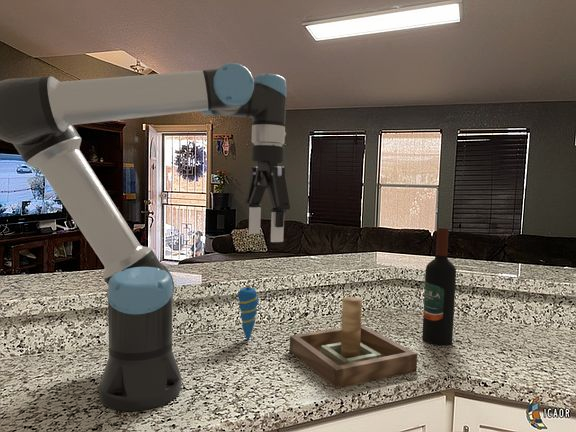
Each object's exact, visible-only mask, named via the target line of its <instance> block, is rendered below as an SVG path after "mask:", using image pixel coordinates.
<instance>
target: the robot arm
mask: <svg viewBox="0 0 576 432" xmlns="http://www.w3.org/2000/svg"><path fill="white" fill-rule="evenodd" d="M287 99H288V96H287V80H286V79H285V77H283V76H281V75H279V74H274V73H260V74H256V75H254V77H253V75H252V73H251V71H250V70H249V69H248V68H247V67H246V66H244V65H242V64H240V63H237V62H230V63H226V64H224V65H222V66H221V67H219V68H212V69H210V68H209V69H204V70H202V69H201V70H188V71H187V70H186V71H175V72H163V73H152V74H141V75H140V74H138V75H127V76H126V75H125V76H117V77H116V76H115V77H104V78H92V79H91V78H90V79H79V80H68V81H65V80H64V81H60V80H58V79H57V78H56V77H54V76H40V77H20V78H19V77H17V78H8V79H2V80H0V140H2V141H4V142H6V143H10V144H12V145H13V146H14V148H15V149H16V150H17V152H18V154H19V155H20V156H21V158H22V159H23V161H24V162H25V164H26V165H27V166H29V167H33V168H35V169H38V170H40V172H41V173H42V175H43V176H44V178H45V179H46V181H47V182H48V184H49V185H50V187H51V189H53V191H54V192H55V194H56V196H57V197H58V199H59V200H60V201H61V204H63V206H64V208H65V210H66V211H67V212H68V215H70V217H71V219H72V220H73V221H74V223H75V224H76V226H77V227H78V228H79V231H80V232H81V233H82V235H83V236H84V238H85V239H86V241H87V242H88V244H89V245H90V247H91V248H92V249H93V251H94V253H95V254H96V256H97V257H98V259H99V260H100V262H101V264H102V265H103V266H104V270H103V273H102V278H103V280H104V282H105V283H106V284H107V286H108V288H107V291H106V298H107V308H108V309H107V311H108V313H107V314H108V315H107V317H108V318H107V319H108V321H107V322H108V327H107V328H108V358H107V362H106V364H105V366H104V367H105V368H104V371H103V374H102V377H101V380H100V381H99V382H100V383H99V387H98V389H99V393H98V394H99V395H98V398H99V401H100V403H101V404H102V405H103V406H105V407H106V408H108V409H111V410H116V411H122V412H138V411H144V410H145V411H146V410H150V409H154V408H157V407H160V406H164V405H165V404H167V403H170V402H171V401H172V400H174V399H175V398H177V396H179V394H180V393H181V390H182V375H181V372H180V369H179V366H178V363H177V360H176V357H175V355H174V352H173V300H174V292H175V283H174V282H175V281H174V278H173V275H172V273H171V272H170V270H169V268H167V267H166V266H165V265H164V264H162V262H161V261H160V260H159V259H158V257H157V255H156V254H155V252H154V250H153V249H152V247H148V246H143V245H141V243H140V242H139V240H138V239H137V237H136V236H135V234H134V232H133V231H132V229H131V228H130V226H129V225H128V223H127V221H126V220H125V218H124V217H123V215H122V214H121V212H120V211H119V208H118V207H117V206H116V204H115V203H114V201H113V200H112V198H111V196H110V194H109V193H108V192H107V190H106V189H105V187H104V185H103V184H102V183H101V181H100V180H99V178H98V176H97V175H96V173H95V171H94V170H93V168H92V167H91V165H90V164H89V162H88V161H87V159H86V157H85V156H84V154H83V153H82V151H81V150H80V147H81V143H82V137H81V136H80V134H79V133H78V131H77V130H76V128H75V125H77V126H78V125H84V124H86V125H87V124H92V123H93V124H95V123H104V122H112V121H113V122H114V121H121V120H129V119H130V120H131V119H140V118H150V117H159V116H167V115H176V114H185V113H195V112H200V113H201V114H203V115H209V116H213V117H217V116H218V117H219V116H221V117H236V118H237V117H239V118H251V119H252V124H251V143H252V144H253V145H252V147H251V153H250V154H251V158H250V159H251V162H253V163H257V166H251V173H250V174H251V175H250V180H249V185H248V190H247V193H246V199H245V203H246V205H248V208H249V212H248V213H249V214H248V215H249V217H248V234H249V235H261V217H262V215H261V214H262V201H263V200H262V199H263V197H264V193H265V191H266V189H267V191H268V195H269V198H270V202H271V205H272V206H271V207H272V208H271V210H270V212H271V219H270V220H271V221H270V225H271V226H270V242H271V243H283V242H284V234H285V233H284V232H285V230H284V228H285V213H286V212H287V210H288V211H289V210H290V208H291V205H290V200H289V199H290V198H289V193H288V188H287V182H286V169H285V166H278V165H279V164H284V162H285V147H284V146H283V145H284V144H285V143H286V142H285V141H286V140H285V139H286V136H287V132H286V118H287V117H286V116H287V115H286V114H287V112H286V111H287Z"/></svg>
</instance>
